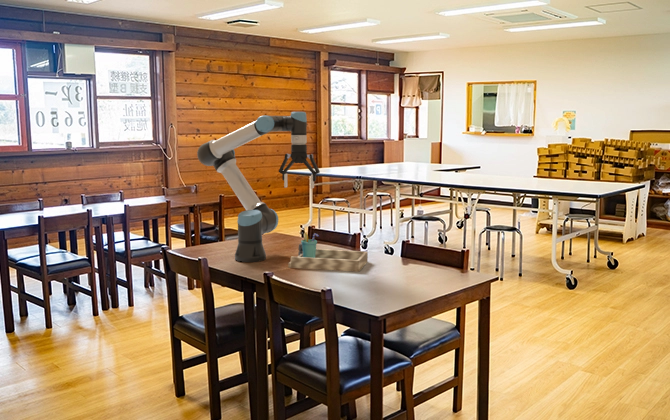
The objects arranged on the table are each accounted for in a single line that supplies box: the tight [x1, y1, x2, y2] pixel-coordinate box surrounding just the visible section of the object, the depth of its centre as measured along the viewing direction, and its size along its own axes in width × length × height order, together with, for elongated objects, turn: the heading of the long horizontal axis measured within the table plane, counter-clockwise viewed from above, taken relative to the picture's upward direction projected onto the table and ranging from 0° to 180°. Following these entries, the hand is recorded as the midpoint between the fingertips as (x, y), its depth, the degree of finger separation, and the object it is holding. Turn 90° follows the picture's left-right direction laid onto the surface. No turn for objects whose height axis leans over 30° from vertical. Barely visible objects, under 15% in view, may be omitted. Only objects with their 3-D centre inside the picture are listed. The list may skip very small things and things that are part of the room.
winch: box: [297, 242, 303, 257], centre depth 314 cm, size 7×5×8 cm
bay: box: [287, 248, 369, 273], centre depth 295 cm, size 33×20×5 cm, turn 76°
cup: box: [300, 232, 320, 258], centre depth 296 cm, size 14×8×15 cm, turn 37°
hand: (299, 187), depth 306 cm, fingers open, 13 cm apart
